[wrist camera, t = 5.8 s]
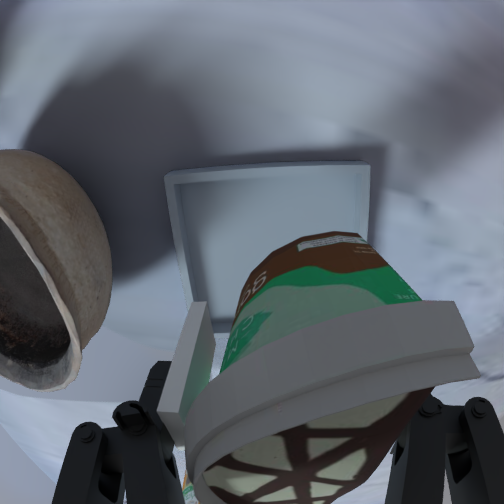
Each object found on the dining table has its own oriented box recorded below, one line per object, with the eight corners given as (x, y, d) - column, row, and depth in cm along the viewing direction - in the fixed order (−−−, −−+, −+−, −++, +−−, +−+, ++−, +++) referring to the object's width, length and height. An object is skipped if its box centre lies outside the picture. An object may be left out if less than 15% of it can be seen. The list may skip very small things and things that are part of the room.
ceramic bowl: (141, 132, 27) (43, 161, 13) (148, 323, 36) (105, 423, 22) (-12, 143, 26) (-104, 177, 13) (13, 295, 36) (-46, 359, 22)
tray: (197, 325, 36) (194, 338, 33) (171, 170, 28) (163, 176, 26) (351, 317, 35) (356, 331, 32) (362, 160, 27) (370, 165, 25)
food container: (229, 178, 13) (158, 328, 4) (366, 202, 14) (494, 356, 5) (207, 378, 19) (180, 526, 10) (303, 389, 19) (315, 534, 10)
